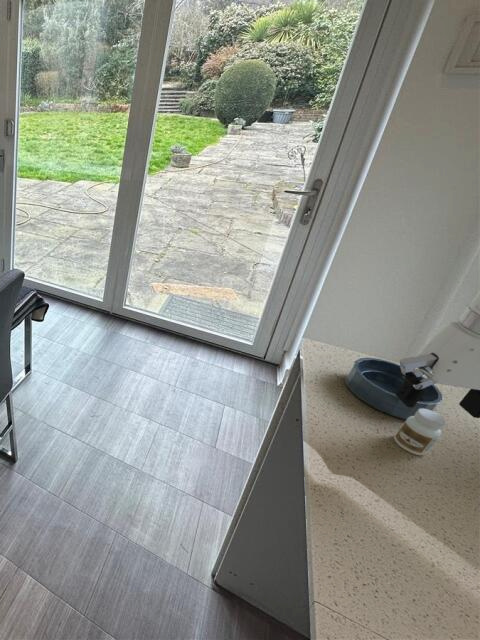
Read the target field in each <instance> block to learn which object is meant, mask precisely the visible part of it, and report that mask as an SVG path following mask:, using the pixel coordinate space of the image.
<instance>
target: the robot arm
mask: <svg viewBox="0 0 480 640" xmlns="http://www.w3.org/2000/svg"><path fill="white" fill-rule="evenodd" d="M399 365H400V368H401V369H400V372H401V374H402V375H403V378H404V379H405V381H404V383H403V384H402V385H401V387H400V388H399V390H398V391H397V393H396V396H397V397H398V398H399V399H400V400H401V401H402V402H403V403H404V404H405V405H406V406H407V407H410V408H413V407H414V406H415V405H416V403H417V402H418V401H419V399H420V398H421V397H422V395H423V394H424V392H425V391H424V390H422V389H423V388H425V387H428V386H430V385H433V384H434V385H435V384H438V385H443V386H450V387H456V388H462V389H469V390H468V391H467V393H466V394H465V395H464V396H463V397H462V399H461V400H460V402H459V403H458V405H459V406H460V407H461V408H462V409H463V410H464V411H465V412H467V414H469V415H470V416H471V417H473V418H474V419H480V289H479V290H478V292H477V293H476V294H475V296H474V297H473V298H472V300H471V302H470V303H469V304H468V305H467V307H466V309H464V311H463V312H462V314H461V315H460V317H459V318H458V320H457V321H451V322H449V323H448V324H447V325H446V326H444V327H443V328H442V329H440V330H439V331H438V332H437V334H435V335H434V336H433V338H431V340H430V341H429V342H428V343H427V344H426V345H425V346H424V347H423V349H422V350H421V351H420V353H419V354H418V355H417V356H412V357H411V356H410V357H407V358H402V359H400V360H399ZM424 375H425V376H426V377H424V378H425V379H423V380H420V381H419V380H418V378H417V377H420V376H424Z"/></svg>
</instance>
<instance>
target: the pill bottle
mask: <svg viewBox="0 0 480 640" xmlns="http://www.w3.org/2000/svg"><path fill="white" fill-rule="evenodd" d="M445 424H446V420H445V418H444V417H443V416H442V415H440V414H439V413H438V412H436V411H434V412H433V411H431V410H428V409H423V408H421V409H418V411H417V412H416V413H415V415H414V416H411V417H408V418H407V419H405V421H404V422H403V424H402V425H401V427H400V428H399V429H398V431H397V432H396V433H395V435H394V437H393V439H394V441H395V443H396V444H397V445H398V446H399V447H401V448H402V449H403V450H405V451H406V452H409V453H411V454H413V455H417V456H425V455H427V454H428V453H429V451H430V450H431V449H432V448H433V446H434V445H435V444H436V443H437V442H438V440H439V439H440V438H441V436H442V430H441V429H442V428H443V427H444V425H445Z"/></svg>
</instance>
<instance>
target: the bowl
mask: <svg viewBox="0 0 480 640" xmlns="http://www.w3.org/2000/svg"><path fill="white" fill-rule="evenodd" d="M400 369H401V368H400V364H398V363H396V362H392V361H388V360H386V359H381V358H375V357H360V358H359V359H357V360H355V361H354V362H353V364H352V366H351V368H350V370H349V371H348V373H347V374H346V377H345V384H346V386H347V387H348V389H349V390H350V391H351V392H352V393H353V394H354V395H355V396H356V397H357V398H359V399H360V400H361V401H363V402H364V403H366V404H367V405H369V406H371V407H373V408H375V409H376V410H378V411H381V412H383V413H385V414H388V415H391V416H393V417H395V418H396V417H397V418H400V419H404V420H407V418H408V417H411V416H414V415H415V413H416V412H417V411H418V409H421V408H423V409H428V410H431V411H433V412H436V410H437V408H438V407H439V405H440V404H441V403H442V402H443V393H442V392H441V391H440V389H439V387H438V386H436V385H435V384H433V385H430V386H428V387H425V388H423V389H422V390H424V391H425V392H424V394H423V395H422V397H421V398H420V399H419V401H418V402H417V403H416V405H415V406H414V407H413V408H410V407H407V406H406V405H405V404H404V403H403V402H402V401H401V400H400V399H399V398H398V397H397V396H396V393H397V391H398V390H399V388H400V387H401V385H402V384H403V383H404V381H405V379H404V378H403V375H402V374H401V372H400ZM417 378H418V380H419V381H420V380H423V379H425V378H426V377H425V376H424V375H422V376H420V377H417Z"/></svg>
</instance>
